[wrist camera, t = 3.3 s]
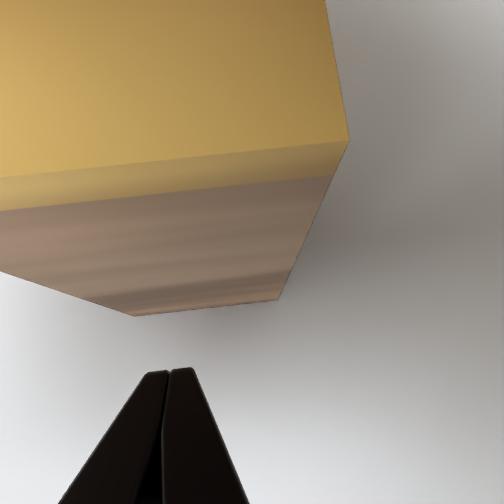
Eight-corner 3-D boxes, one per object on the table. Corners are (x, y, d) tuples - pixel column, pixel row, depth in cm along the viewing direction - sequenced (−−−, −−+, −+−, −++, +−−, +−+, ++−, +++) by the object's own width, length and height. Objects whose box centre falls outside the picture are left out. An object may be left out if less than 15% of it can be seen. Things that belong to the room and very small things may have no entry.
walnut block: (277, 299, 16) (349, 139, 4) (134, 316, 16) (-211, 199, 4) (260, 167, 17) (278, -256, 5) (126, 181, 17) (-161, -219, 5)
